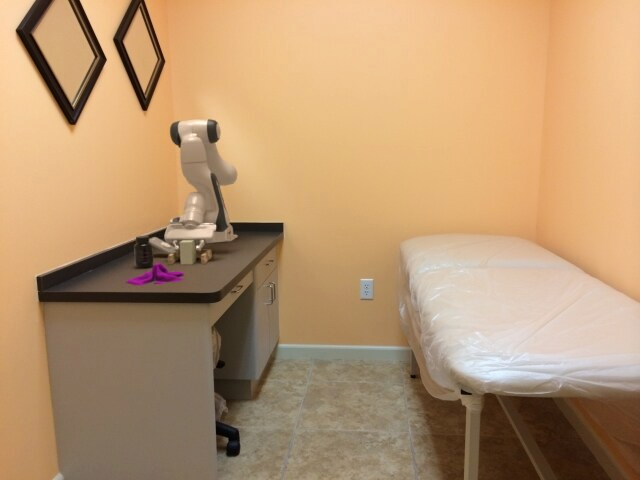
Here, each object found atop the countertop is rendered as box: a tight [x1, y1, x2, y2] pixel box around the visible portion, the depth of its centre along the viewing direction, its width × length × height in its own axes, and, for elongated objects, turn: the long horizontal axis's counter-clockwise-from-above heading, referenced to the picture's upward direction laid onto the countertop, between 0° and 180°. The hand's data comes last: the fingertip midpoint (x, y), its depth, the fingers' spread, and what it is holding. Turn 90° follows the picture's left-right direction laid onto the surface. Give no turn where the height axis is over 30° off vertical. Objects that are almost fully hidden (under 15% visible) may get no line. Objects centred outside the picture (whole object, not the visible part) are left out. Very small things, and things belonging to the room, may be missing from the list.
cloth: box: [125, 262, 185, 286], centre depth 175 cm, size 22×19×6 cm
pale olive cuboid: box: [179, 240, 197, 265], centre depth 202 cm, size 7×4×9 cm, turn 0°
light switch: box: [149, 236, 175, 256], centre depth 217 cm, size 8×6×14 cm
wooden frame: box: [167, 248, 213, 266], centre depth 206 cm, size 14×14×4 cm
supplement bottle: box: [133, 235, 155, 269], centre depth 195 cm, size 7×7×12 cm
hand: (187, 250), depth 201 cm, fingers open, 7 cm apart
